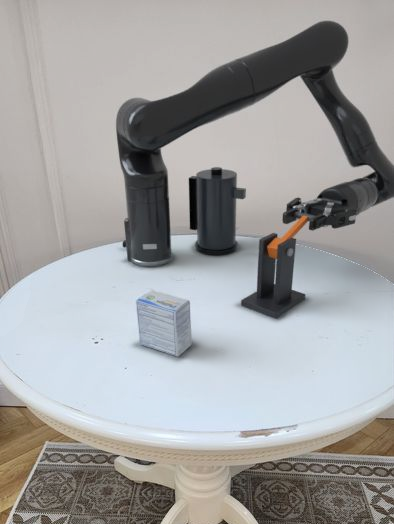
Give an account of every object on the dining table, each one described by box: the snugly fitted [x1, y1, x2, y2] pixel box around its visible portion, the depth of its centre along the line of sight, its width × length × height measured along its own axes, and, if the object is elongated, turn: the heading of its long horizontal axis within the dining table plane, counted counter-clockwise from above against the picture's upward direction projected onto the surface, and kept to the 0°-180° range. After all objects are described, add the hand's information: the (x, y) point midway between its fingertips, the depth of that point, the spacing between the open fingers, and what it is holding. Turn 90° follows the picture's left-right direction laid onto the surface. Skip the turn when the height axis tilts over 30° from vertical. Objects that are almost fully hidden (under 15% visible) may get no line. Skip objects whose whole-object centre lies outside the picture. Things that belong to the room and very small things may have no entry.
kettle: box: [188, 166, 247, 257], centre depth 122 cm, size 13×10×18 cm
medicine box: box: [135, 289, 193, 357], centre depth 87 cm, size 8×4×9 cm, turn 58°
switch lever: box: [267, 211, 315, 260], centre depth 98 cm, size 12×5×2 cm, turn 139°
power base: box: [240, 232, 306, 319], centre depth 99 cm, size 10×8×13 cm
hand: (297, 221), depth 99 cm, fingers closed on switch lever, 5 cm apart
